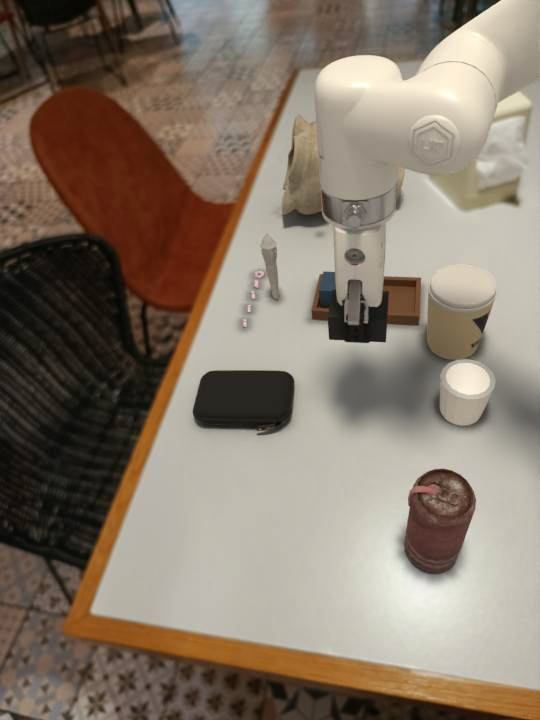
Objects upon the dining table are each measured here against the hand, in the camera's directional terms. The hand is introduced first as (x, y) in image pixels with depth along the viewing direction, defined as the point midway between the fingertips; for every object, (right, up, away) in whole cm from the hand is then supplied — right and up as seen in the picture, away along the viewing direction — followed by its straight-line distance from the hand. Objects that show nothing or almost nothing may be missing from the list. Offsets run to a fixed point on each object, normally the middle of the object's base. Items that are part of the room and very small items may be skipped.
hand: (359, 323), depth 66 cm
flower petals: (-14, +6, +29) cm, 33 cm away
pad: (0, 0, 0) cm, 1 cm away
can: (+8, -27, -4) cm, 28 cm away
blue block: (+1, +6, +25) cm, 26 cm away
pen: (-10, +6, +28) cm, 31 cm away
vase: (+5, +27, +44) cm, 52 cm away
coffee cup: (+17, -2, +16) cm, 24 cm away
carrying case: (-15, -12, +13) cm, 23 cm away
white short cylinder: (+16, -12, +8) cm, 21 cm away
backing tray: (+5, +5, +24) cm, 26 cm away
